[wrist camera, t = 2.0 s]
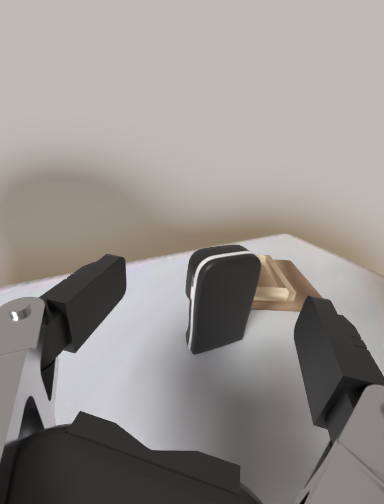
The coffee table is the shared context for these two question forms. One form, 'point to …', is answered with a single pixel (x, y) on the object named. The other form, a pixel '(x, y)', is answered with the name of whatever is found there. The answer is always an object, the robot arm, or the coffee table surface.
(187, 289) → the battery charger
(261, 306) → the board
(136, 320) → the coffee table surface
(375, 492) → the robot arm
